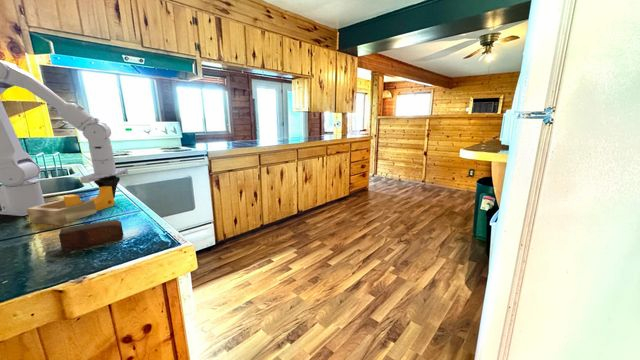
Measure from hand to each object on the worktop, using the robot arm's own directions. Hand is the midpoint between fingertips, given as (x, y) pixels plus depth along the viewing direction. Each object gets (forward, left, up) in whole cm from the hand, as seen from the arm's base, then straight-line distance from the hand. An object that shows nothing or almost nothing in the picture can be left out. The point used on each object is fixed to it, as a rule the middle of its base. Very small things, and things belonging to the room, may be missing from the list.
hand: (110, 198), depth 87 cm
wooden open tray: (0, -13, -1) cm, 13 cm away
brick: (+25, -25, -2) cm, 35 cm away
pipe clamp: (+2, -8, -2) cm, 8 cm away
